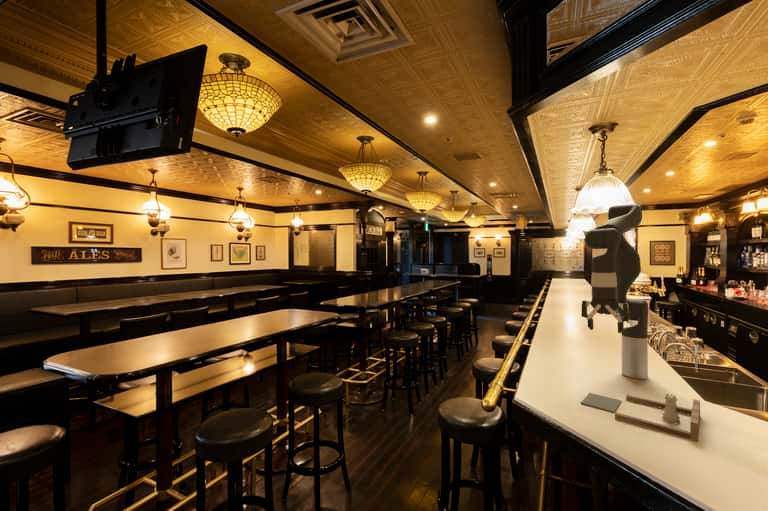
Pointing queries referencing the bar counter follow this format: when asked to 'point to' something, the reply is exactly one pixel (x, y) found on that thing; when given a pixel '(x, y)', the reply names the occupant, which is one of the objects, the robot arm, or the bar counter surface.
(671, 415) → the rook chess piece
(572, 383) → the bar counter surface
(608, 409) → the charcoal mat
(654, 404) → the walnut lane
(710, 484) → the bar counter surface
